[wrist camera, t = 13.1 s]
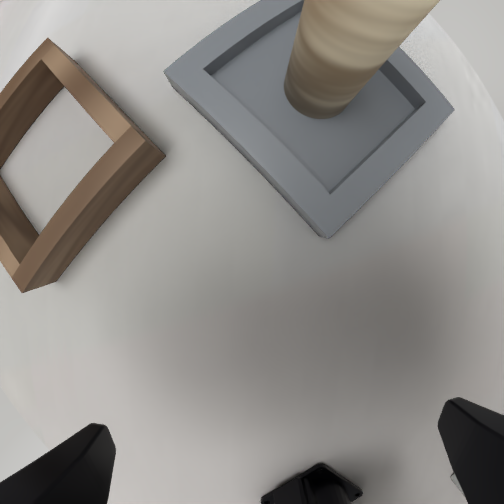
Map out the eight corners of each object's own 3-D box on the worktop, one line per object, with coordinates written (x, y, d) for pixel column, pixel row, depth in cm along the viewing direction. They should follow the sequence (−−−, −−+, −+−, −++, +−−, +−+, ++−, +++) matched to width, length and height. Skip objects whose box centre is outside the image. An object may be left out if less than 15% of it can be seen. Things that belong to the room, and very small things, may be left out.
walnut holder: (166, 156, 18) (145, 140, 14) (56, 281, 19) (22, 293, 15) (74, 60, 18) (47, 37, 14) (-15, 174, 18) (-48, 169, 14)
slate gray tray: (435, 119, 18) (454, 109, 16) (318, 236, 19) (329, 238, 16) (304, -7, 17) (309, -27, 15) (172, 87, 18) (163, 71, 15)
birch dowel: (356, 115, 17) (507, -23, 3) (292, 123, 17) (376, -63, 3) (339, 58, 17) (436, -107, 3) (277, 64, 17) (312, -133, 3)
